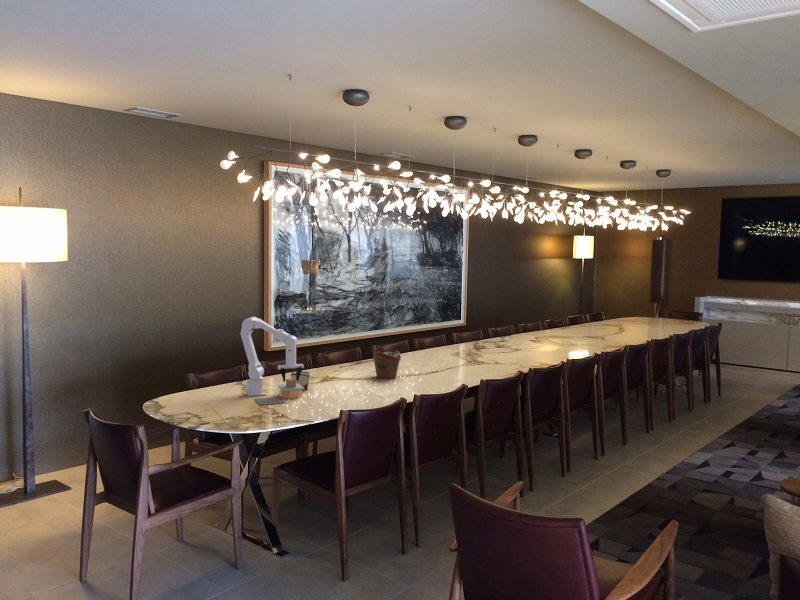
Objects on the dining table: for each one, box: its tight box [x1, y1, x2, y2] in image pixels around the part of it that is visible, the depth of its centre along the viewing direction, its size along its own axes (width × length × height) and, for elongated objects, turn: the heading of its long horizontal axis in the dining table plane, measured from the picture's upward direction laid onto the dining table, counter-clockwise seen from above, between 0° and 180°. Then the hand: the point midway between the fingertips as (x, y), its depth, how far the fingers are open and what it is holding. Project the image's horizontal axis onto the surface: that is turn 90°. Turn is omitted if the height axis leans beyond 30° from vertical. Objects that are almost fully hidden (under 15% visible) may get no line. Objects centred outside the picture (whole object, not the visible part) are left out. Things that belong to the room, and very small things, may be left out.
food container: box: [290, 370, 311, 391], centre depth 383 cm, size 12×6×10 cm, turn 74°
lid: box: [277, 378, 305, 391], centre depth 364 cm, size 12×12×5 cm
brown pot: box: [372, 349, 402, 380], centre depth 420 cm, size 18×20×18 cm
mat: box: [253, 396, 287, 406], centre depth 352 cm, size 14×14×1 cm
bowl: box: [279, 388, 303, 399], centre depth 365 cm, size 12×12×4 cm
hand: (290, 381), depth 364 cm, fingers open, 7 cm apart
